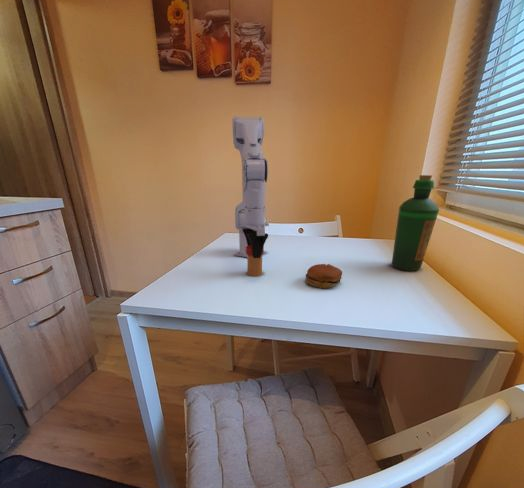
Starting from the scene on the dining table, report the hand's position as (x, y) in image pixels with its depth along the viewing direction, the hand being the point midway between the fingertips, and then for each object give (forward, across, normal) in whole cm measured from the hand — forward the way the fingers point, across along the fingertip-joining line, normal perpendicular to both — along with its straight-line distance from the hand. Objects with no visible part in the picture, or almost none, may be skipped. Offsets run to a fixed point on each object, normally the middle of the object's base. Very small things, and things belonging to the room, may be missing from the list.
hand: (254, 254), depth 82 cm
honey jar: (+6, 0, 0) cm, 6 cm away
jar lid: (-2, 0, 0) cm, 2 cm away
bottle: (+6, -5, -50) cm, 50 cm away
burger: (+6, -11, -17) cm, 21 cm away
